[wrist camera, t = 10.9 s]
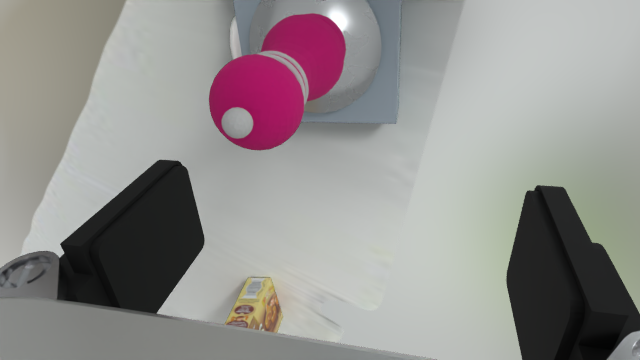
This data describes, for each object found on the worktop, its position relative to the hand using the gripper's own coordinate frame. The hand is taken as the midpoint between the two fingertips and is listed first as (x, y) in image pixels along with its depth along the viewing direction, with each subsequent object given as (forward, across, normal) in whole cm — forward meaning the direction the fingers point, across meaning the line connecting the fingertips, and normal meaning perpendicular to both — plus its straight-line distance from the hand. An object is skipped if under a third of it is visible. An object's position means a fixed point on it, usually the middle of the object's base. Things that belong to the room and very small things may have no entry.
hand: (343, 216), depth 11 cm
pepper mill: (+30, +8, +3) cm, 32 cm away
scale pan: (+31, +8, +3) cm, 32 cm away
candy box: (+35, +20, +43) cm, 59 cm away
